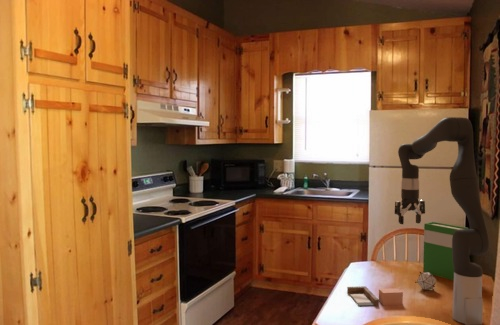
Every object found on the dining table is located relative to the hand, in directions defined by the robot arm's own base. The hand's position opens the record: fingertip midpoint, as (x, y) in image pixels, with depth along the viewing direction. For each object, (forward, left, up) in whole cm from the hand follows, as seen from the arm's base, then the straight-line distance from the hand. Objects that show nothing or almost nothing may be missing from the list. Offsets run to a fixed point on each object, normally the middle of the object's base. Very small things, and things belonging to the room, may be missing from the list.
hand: (409, 223), depth 194 cm
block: (-23, +18, -27) cm, 39 cm away
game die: (-11, -3, -27) cm, 29 cm away
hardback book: (+7, -21, -27) cm, 35 cm away
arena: (-18, +28, -27) cm, 43 cm away
